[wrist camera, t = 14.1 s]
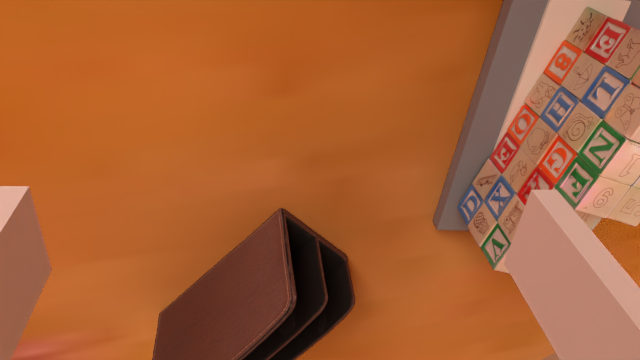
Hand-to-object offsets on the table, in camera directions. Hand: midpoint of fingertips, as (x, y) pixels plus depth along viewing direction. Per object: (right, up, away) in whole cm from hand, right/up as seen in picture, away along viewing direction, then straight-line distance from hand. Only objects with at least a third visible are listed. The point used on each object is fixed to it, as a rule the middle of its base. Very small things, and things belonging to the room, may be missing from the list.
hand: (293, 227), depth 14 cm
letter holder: (-7, -10, +44) cm, 45 cm away
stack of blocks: (+21, +6, +34) cm, 41 cm away
